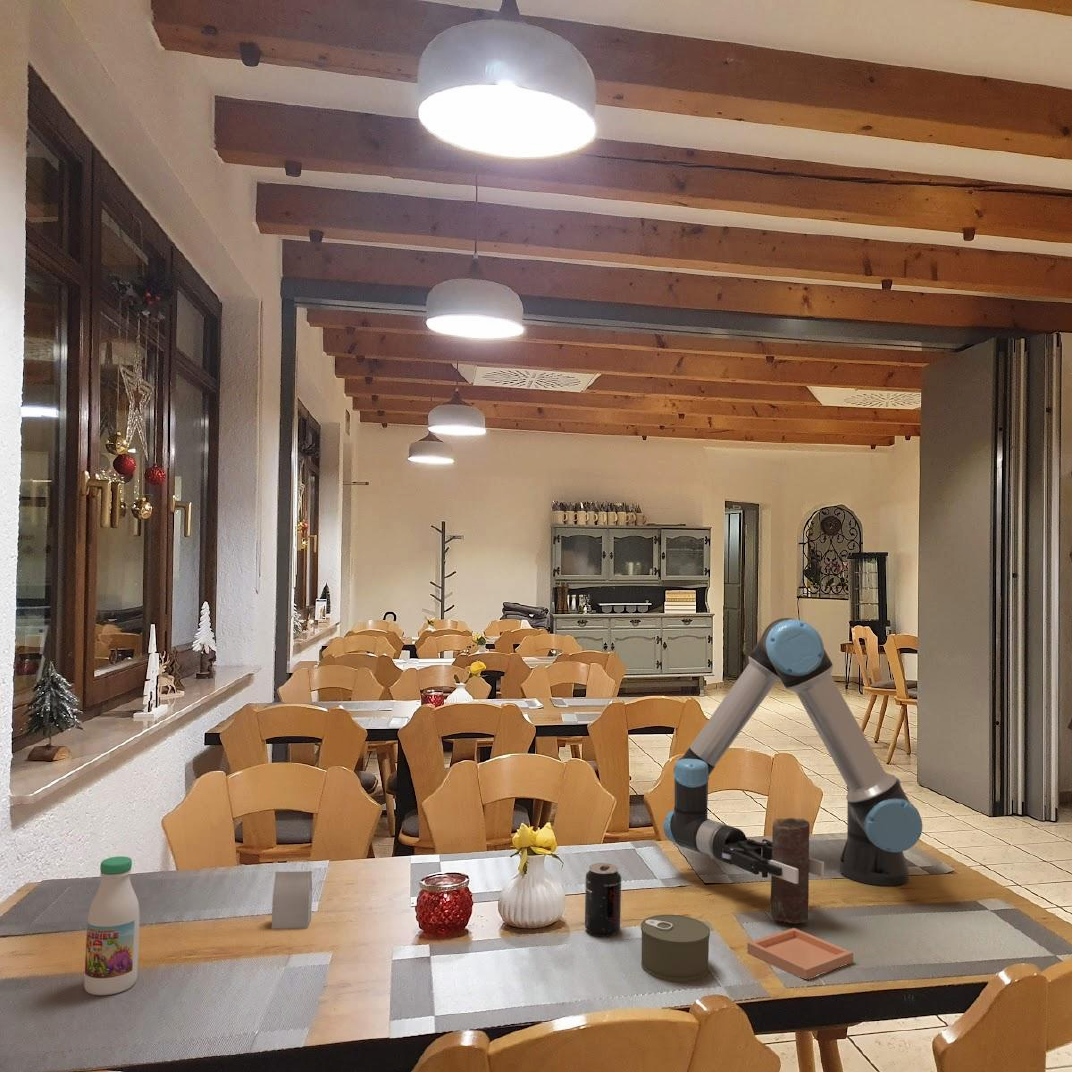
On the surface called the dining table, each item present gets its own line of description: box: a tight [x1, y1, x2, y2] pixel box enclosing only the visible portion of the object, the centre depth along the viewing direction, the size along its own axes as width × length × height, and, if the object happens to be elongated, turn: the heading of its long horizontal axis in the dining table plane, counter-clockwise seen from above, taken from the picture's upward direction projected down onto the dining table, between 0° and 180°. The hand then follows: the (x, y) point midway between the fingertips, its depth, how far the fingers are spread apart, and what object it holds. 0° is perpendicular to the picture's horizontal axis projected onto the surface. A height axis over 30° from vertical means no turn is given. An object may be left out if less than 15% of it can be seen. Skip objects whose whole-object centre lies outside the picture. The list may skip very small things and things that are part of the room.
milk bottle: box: [83, 855, 140, 996], centre depth 142 cm, size 8×8×20 cm
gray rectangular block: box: [271, 870, 313, 930], centre depth 168 cm, size 4×7×10 cm, turn 95°
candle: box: [769, 817, 811, 924], centre depth 175 cm, size 8×7×20 cm
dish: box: [746, 927, 854, 980], centre depth 158 cm, size 13×13×2 cm
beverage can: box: [584, 862, 622, 937], centre depth 168 cm, size 7×7×12 cm
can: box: [640, 914, 711, 983], centre depth 153 cm, size 12×12×7 cm
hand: (810, 872), depth 171 cm, fingers closed on candle, 7 cm apart
